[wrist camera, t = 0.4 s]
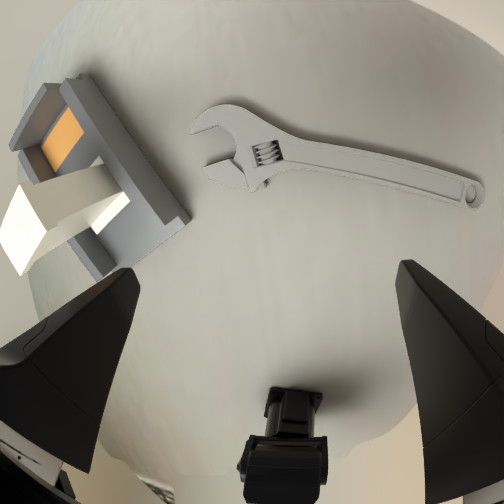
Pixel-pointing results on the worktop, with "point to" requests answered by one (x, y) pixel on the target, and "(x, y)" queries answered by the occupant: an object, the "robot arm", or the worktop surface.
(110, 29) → the worktop surface
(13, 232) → the switch tab
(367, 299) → the worktop surface
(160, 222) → the switch housing
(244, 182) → the adjustable wrench
